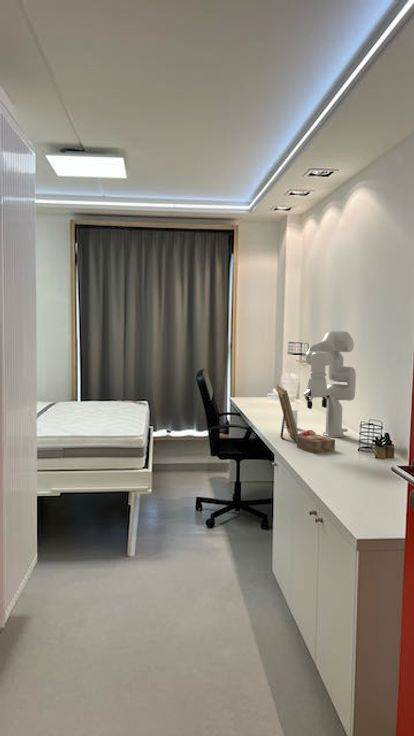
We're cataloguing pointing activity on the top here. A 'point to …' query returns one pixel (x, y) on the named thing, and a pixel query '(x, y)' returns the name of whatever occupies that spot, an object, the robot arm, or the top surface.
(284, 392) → the picture frame
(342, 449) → the top surface
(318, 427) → the top surface
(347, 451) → the top surface
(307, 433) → the soda can
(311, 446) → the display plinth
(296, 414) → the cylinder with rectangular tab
